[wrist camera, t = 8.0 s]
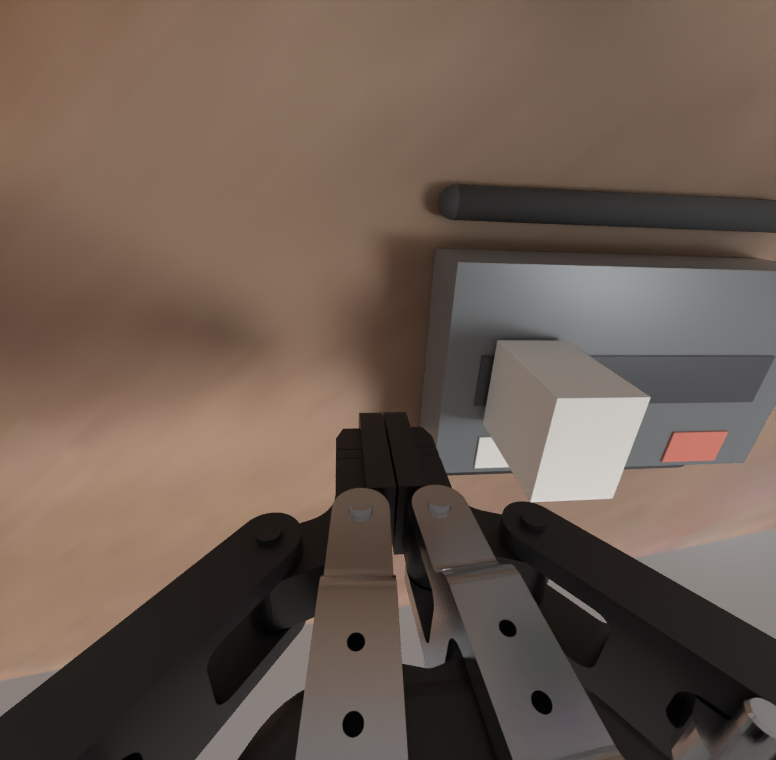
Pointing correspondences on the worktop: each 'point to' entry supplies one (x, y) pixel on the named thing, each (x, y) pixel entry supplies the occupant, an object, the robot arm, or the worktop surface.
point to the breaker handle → (561, 419)
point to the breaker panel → (608, 344)
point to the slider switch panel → (604, 215)
